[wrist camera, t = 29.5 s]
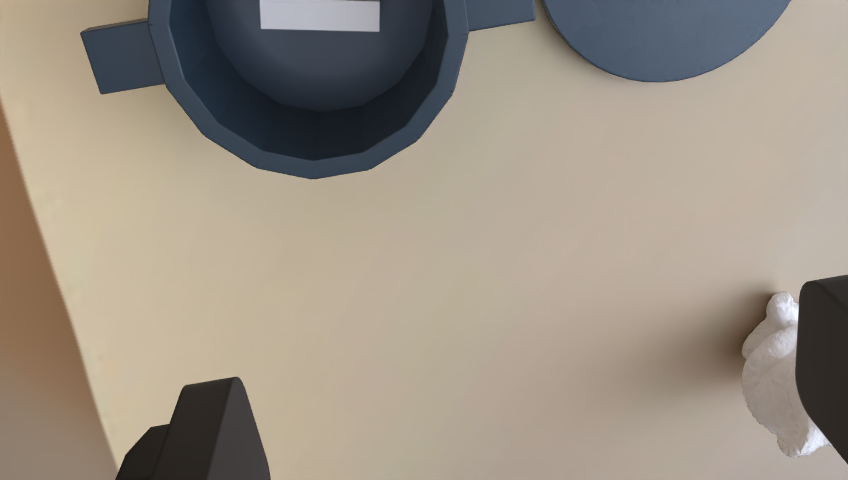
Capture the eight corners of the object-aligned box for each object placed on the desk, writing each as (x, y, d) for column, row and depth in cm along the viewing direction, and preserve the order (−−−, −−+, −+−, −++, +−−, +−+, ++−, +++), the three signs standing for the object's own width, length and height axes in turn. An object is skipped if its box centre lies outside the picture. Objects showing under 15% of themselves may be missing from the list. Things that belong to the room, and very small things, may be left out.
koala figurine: (860, 266, 44) (1023, 396, 33) (845, 367, 47) (991, 517, 36) (709, 286, 44) (823, 422, 33) (704, 385, 47) (807, 541, 36)
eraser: (378, 17, 36) (379, 32, 33) (270, 14, 36) (260, 28, 32) (379, -11, 35) (380, 0, 32) (269, -14, 35) (258, -3, 32)
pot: (518, 92, 38) (550, 139, 32) (173, 151, 38) (132, 210, 32) (489, -174, 33) (521, -186, 27) (94, -106, 33) (26, -100, 27)
